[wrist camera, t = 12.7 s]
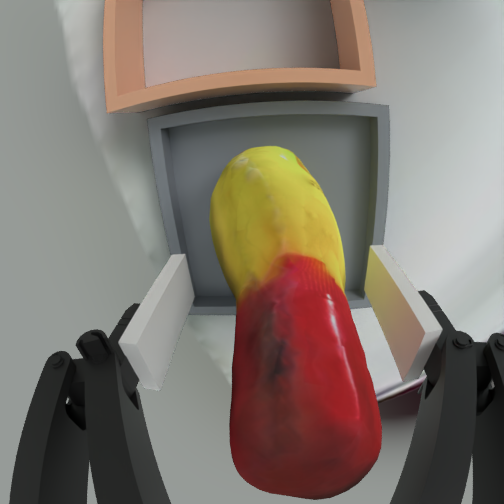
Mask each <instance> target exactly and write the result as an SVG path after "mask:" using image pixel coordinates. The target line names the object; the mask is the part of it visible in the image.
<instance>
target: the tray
mask: <svg viewBox="0 0 504 504" xmlns="http://www.w3.org/2000/svg"><path fill="white" fill-rule="evenodd" d="M147 123H148V131H149V139H150V146H151V153H152V160H153V167H154V173H155V179H156V185H157V191H158V196H159V202H160V207H161V212H162V217H163V222H164V227H165V232H166V237H167V241H168V246H169V250H170V254H171V255H174V254H185V255H186V259H187V264H188V269H189V273H190V278H191V282H192V287H193V291H194V295H195V298H194V300H193V303H192V305H191V308H190V311H189V313H188V315H236V299H235V297H234V295H233V293H232V291H231V290H230V288H229V286H228V284H227V282H226V279H225V277H224V275H223V272H222V269H221V267H220V264H219V261H218V258H217V255H216V252H215V248H214V244H213V240H212V235H211V229H210V221H209V216H210V202H211V196H212V193H213V191H214V188H215V186H216V184H217V182H218V180H219V178H220V176H221V173H222V172H223V170H224V168H225V167H226V165H227V164H228V163H229V162H230V161H231V160H232V159H233V158H234V157H235V156H237V155H238V154H240V153H241V152H243V151H245V150H247V149H250V148H254V147H263V146H278V147H281V148H284V149H288V150H290V151H291V152H293V153H294V154H295V155H296V156H297V157H298V158H299V159H300V161H301V162H302V163H303V165H304V166H305V167H306V169H307V170H308V171H309V173H310V174H311V175H312V176H313V178H314V179H315V180H316V181H317V183H318V184H319V186H320V187H321V189H322V191H323V193H324V195H325V197H326V199H327V201H328V203H329V205H330V208H331V210H332V212H333V214H334V217H335V219H336V222H337V226H338V229H339V233H340V237H341V241H342V247H343V253H344V260H345V276H346V281H345V291H344V293H345V295H346V298H347V301H348V304H349V308H350V309H357V308H368V307H372V306H371V304H370V301H369V299H368V297H367V295H366V293H365V291H364V286H365V279H366V273H367V266H368V258H369V250H370V246H371V245H383V241H384V232H385V223H386V213H387V202H388V187H389V165H390V120H389V105H380V104H370V103H358V102H342V101H272V102H256V103H244V104H234V105H225V106H216V107H209V108H202V109H196V110H190V111H184V112H178V113H173V114H168V115H163V116H158V117H154V118H149V119H147Z"/></svg>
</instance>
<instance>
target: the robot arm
mask: <svg viewBox="0 0 504 504" xmlns="http://www.w3.org/2000/svg"><path fill="white" fill-rule="evenodd" d="M364 291H365V293H366V295H367V297H368V299H369V301H370V304H371V306H372V308H373V310H374V312H375V315H376V317H377V319H378V321H379V324H380V326H381V328H382V330H383V333H384V335H385V338H386V340H387V342H388V345H389V347H390V350H391V352H392V355H393V357H394V360H395V362H396V365H397V367H398V370H399V372H400V375H401V378H402V381H403V382H405V381H410V380H414V379H418V378H419V377H420V375H421V373H422V371H423V370H425V373H426V375H427V377H426V379H425V380H424V382H423V384H422V385H421V387H420V389H419V391H418V394H420V392H421V391H422V396H421V402H420V407H419V412H418V417H417V421H416V426H415V429H414V433H413V437H412V441H411V445H410V448H409V452H408V455H407V458H406V461H405V465H404V468H403V471H402V473H401V476H400V479H399V482H398V485H397V487H396V490H395V492H394V495H393V497H392V500H391V502H390V504H461V502H462V498H463V495H464V491H465V487H466V482H467V478H468V473H469V468H470V462H471V456H472V458H473V501H472V504H504V335H503V334H501V333H494V334H492V335H491V336H490V338H489V339H488V341H487V343H484V342H474V341H473V339H472V338H471V337H470V336H469V335H468V334H466V333H464V332H462V331H456V330H455V328H454V327H453V325H452V324H451V322H450V321H449V319H448V318H447V316H446V315H445V313H444V312H443V311H442V309H441V308H440V306H439V305H438V303H437V302H436V301H435V299H434V298H433V297H432V296H431V295H430V294H428V293H427V292H426V291H424V290H423V291H417V290H416V288H415V287H414V285H413V284H412V283H411V281H410V280H409V278H408V277H407V276H406V274H405V273H404V272H403V270H402V269H401V268H400V266H399V265H398V264H397V262H396V261H395V260H394V258H393V257H392V256H391V255H390V253H389V252H388V251H387V249H386V248H385V247H384V246H383V245H371V246H370V250H369V258H368V266H367V273H366V279H365V286H364ZM194 298H195V295H194V291H193V287H192V282H191V278H190V273H189V269H188V264H187V259H186V255H185V254H174V255H171V257H170V258H169V260H168V261H167V263H166V265H165V266H164V268H163V269H162V271H161V272H160V274H159V275H158V277H157V279H156V280H155V282H154V283H153V285H152V287H151V289H150V290H149V291H148V293H147V294H146V296H145V298H144V299H143V301H142V303H141V304H135V303H134V304H133V305H132V306H131V307H129V308H128V309H127V310H126V311H125V313H124V314H123V316H122V317H121V318H122V319H120V321H119V322H118V325H116V327H115V329H114V330H113V332H112V334H111V335H110V337H109V338H107V336H106V334H105V333H104V332H103V331H101V330H90V331H88V332H86V333H84V334H83V335H82V336H80V338H79V339H78V340H77V343H76V346H77V348H78V350H79V351H80V353H81V355H82V356H83V358H82V359H72V358H71V356H70V355H69V354H68V353H67V352H65V351H59V352H56V353H54V354H52V355H51V356H50V357H49V358H48V360H47V361H46V364H45V366H44V368H43V371H42V373H41V376H40V379H39V381H38V384H37V387H36V389H35V392H34V395H33V398H32V401H31V404H30V407H29V410H28V414H27V417H26V420H25V424H24V427H23V431H22V435H21V438H20V443H19V447H18V451H17V456H16V461H15V466H14V472H13V478H12V485H11V492H10V503H9V504H87V486H88V471H89V460H90V466H91V472H92V478H93V483H94V489H95V494H96V498H97V503H98V504H171V502H170V500H169V497H168V494H167V492H166V489H165V486H164V483H163V481H162V477H161V475H160V472H159V469H158V466H157V462H156V459H155V456H154V452H153V449H152V445H151V442H150V438H149V434H148V430H147V427H146V422H145V418H144V414H143V409H142V405H141V400H140V395H139V392H138V390H137V388H136V386H137V384H138V382H139V381H140V383H141V384H142V386H143V388H144V389H150V390H157V391H161V387H162V385H163V382H164V379H165V376H166V373H167V370H168V367H169V365H170V362H171V359H172V357H173V354H174V351H175V348H176V345H177V343H178V340H179V337H180V334H181V332H182V329H183V326H184V324H185V321H186V319H187V316H188V313H189V311H190V308H191V305H192V303H193V300H194ZM492 381H493V382H494V385H495V387H494V388H492V386H491V382H492ZM422 389H423V390H422ZM67 397H68V398H69V401H68V403H67V404H66V400H67Z"/></svg>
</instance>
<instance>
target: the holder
mask: <svg viewBox="0 0 504 504" xmlns="http://www.w3.org/2000/svg"><path fill="white" fill-rule="evenodd" d="M330 3H331V8H332V14H333V20H334V26H335V33H336V40H337V47H338V55H339V64H340V69H330V68H270V69H254V70H243V71H233V72H225V73H217V74H210V75H204V76H198V77H192V78H187V79H182V80H177V81H173V82H168V83H164V84H160V85H156V86H152V87H148V88H145V75H144V58H143V26H142V7H143V0H105V7H104V27H103V63H104V85H105V98H106V109H107V113H138V112H142V111H146V110H150V109H154V108H159V107H163V106H168V105H173V104H178V103H183V102H189V101H195V100H201V99H208V98H215V97H222V96H231V95H240V94H252V93H266V92H291V91H319V92H344V93H356V92H359V91H363V90H366V89H370V88H373V87H376V78H375V68H374V59H373V52H372V45H371V38H370V32H369V26H368V20H367V15H366V10H365V6H364V1H363V0H330Z"/></svg>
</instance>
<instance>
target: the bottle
mask: <svg viewBox="0 0 504 504" xmlns="http://www.w3.org/2000/svg"><path fill="white" fill-rule="evenodd" d="M209 221H210V229H211V235H212V240H213V244H214V248H215V252H216V255H217V258H218V261H219V264H220V267H221V269H222V272H223V275H224V277H225V279H226V282H227V284H228V286H229V288H230V290H231V291H232V293H233V295H234V297H235V299H236V326H235V342H234V354H233V363H232V401H231V409H230V447H231V454H232V458H233V462H234V465H235V467H236V469H237V471H238V473H239V474H240V476H241V477H242V478H243V479H244V480H245V481H246V482H247V483H249V484H251V485H252V486H254V487H256V488H257V489H259V490H262V491H265V492H269V493H272V494H279V495H286V496H292V497H298V498H305V499H313V500H317V499H325V498H331V497H334V496H336V495H339V494H341V493H343V492H346V491H347V490H349V489H350V488H352V487H353V486H355V485H356V484H358V483H359V482H360V481H361V480H362V479H363V478H364V477H365V475H367V474H368V472H369V471H370V470H371V468H372V467H373V465H374V464H375V462H376V461H377V459H378V456H379V453H380V449H381V439H382V426H381V420H380V414H379V408H378V403H377V399H376V395H375V391H374V386H373V382H372V379H371V376H370V373H369V371H368V368H367V364H366V358H365V353H364V350H363V348H362V345H361V342H360V339H359V336H358V333H357V330H356V327H355V324H354V322H353V319H352V315H351V311H350V308H349V304H348V301H347V298H346V295H345V293H344V291H345V281H346V276H345V260H344V253H343V247H342V241H341V237H340V233H339V229H338V226H337V222H336V219H335V217H334V214H333V212H332V210H331V208H330V205H329V203H328V201H327V199H326V197H325V195H324V193H323V191H322V189H321V187H320V186H319V184H318V183H317V181H316V180H315V179H314V178H313V176H312V175H311V174H310V173H309V171H308V170H307V169H306V167H305V166H304V165H303V163H302V162H301V161H300V159H299V158H298V157H297V156H296V155H295V154H294V153H293V152H291V151H290V150H288V149H284V148H281V147H278V146H263V147H254V148H250V149H247V150H245V151H243V152H241V153H240V154H238V155H237V156H235V157H234V158H233V159H232V160H231V161H230V162H229V163H228V164H227V165H226V167H225V168H224V170H223V172H222V173H221V176H220V178H219V180H218V182H217V184H216V186H215V188H214V191H213V193H212V196H211V202H210V216H209Z"/></svg>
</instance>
